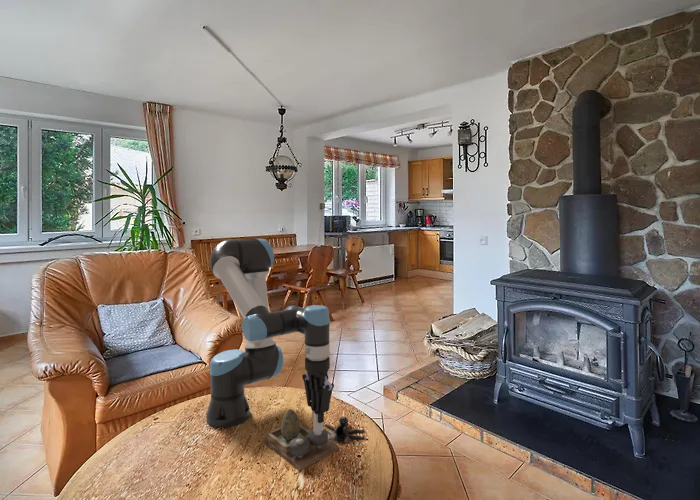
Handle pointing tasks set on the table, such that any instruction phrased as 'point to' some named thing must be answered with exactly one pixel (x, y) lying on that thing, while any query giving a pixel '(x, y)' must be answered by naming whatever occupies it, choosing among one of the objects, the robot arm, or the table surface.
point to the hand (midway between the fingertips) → (318, 431)
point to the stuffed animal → (343, 432)
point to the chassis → (298, 447)
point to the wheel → (318, 438)
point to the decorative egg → (290, 425)
